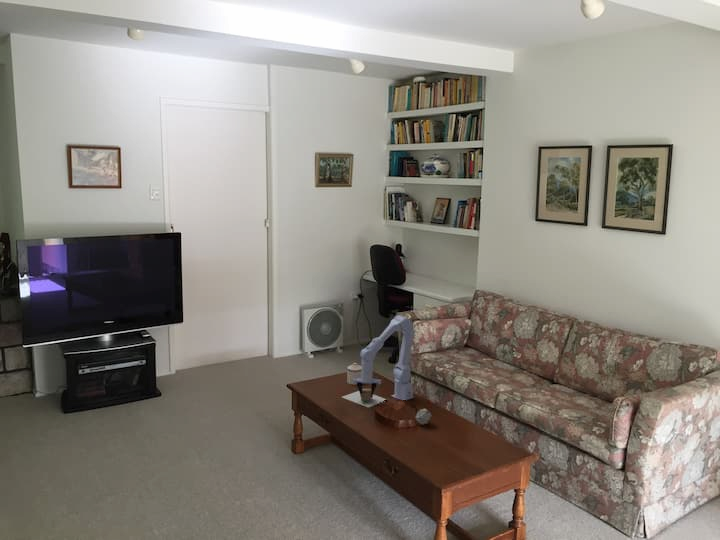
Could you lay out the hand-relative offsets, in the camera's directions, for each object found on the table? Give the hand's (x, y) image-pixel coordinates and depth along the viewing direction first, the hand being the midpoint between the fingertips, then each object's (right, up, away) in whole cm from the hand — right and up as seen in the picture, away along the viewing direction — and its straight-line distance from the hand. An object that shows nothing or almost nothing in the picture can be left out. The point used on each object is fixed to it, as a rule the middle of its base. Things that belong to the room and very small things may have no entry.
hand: (366, 396), depth 324 cm
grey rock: (+27, -8, -27) cm, 39 cm away
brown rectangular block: (0, -1, 0) cm, 1 cm away
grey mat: (-1, -2, +4) cm, 5 cm away
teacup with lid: (-7, +2, +31) cm, 32 cm away
